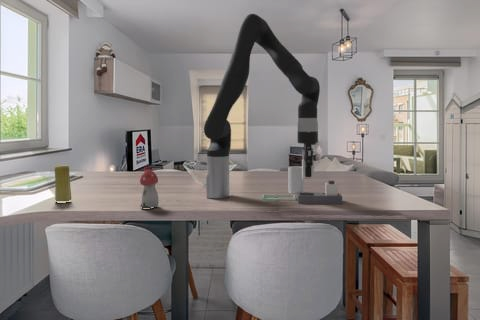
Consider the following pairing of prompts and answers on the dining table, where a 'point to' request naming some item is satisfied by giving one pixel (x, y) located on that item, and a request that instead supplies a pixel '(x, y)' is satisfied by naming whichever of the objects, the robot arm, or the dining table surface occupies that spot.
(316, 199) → the grey rectangular frame
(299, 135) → the robot arm
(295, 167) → the mug
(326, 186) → the twin plug
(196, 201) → the dining table surface
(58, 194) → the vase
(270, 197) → the tray
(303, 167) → the plug
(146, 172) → the decorative ornament
